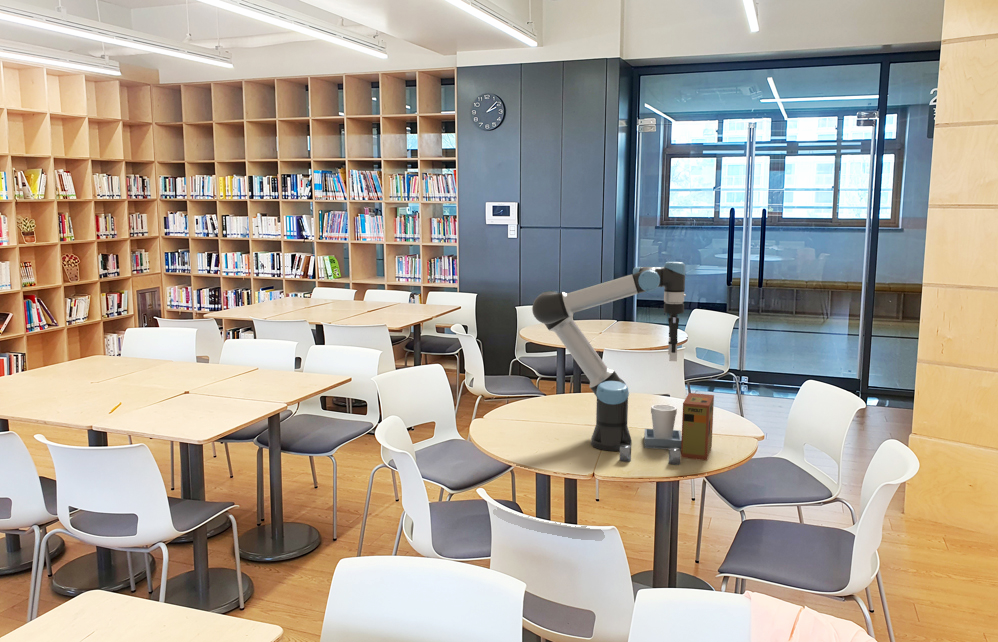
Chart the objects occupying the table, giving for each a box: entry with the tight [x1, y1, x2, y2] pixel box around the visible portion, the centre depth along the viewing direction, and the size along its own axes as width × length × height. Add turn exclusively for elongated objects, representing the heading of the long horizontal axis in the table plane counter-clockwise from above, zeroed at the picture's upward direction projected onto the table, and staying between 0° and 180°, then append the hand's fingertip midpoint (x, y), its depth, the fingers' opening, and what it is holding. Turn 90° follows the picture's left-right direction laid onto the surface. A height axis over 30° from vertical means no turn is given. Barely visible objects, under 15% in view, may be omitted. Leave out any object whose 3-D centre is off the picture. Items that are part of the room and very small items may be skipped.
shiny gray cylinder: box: [668, 448, 681, 466], centre depth 262 cm, size 4×4×5 cm
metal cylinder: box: [618, 445, 632, 463], centre depth 266 cm, size 4×4×5 cm
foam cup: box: [650, 403, 678, 440], centre depth 285 cm, size 10×9×13 cm
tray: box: [643, 428, 682, 450], centre depth 285 cm, size 14×14×4 cm
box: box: [680, 392, 715, 461], centre depth 274 cm, size 17×9×20 cm, turn 159°
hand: (672, 357), depth 288 cm, fingers open, 13 cm apart
